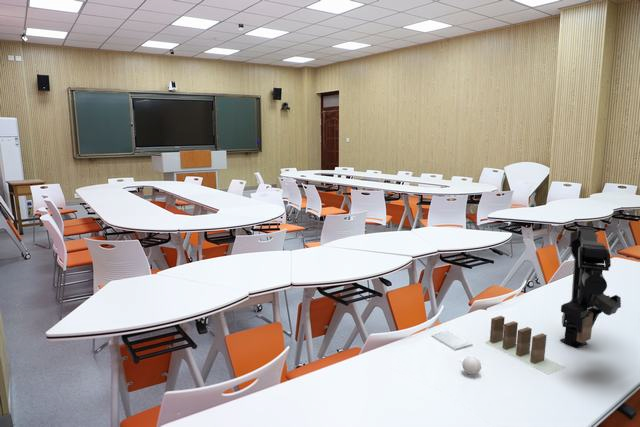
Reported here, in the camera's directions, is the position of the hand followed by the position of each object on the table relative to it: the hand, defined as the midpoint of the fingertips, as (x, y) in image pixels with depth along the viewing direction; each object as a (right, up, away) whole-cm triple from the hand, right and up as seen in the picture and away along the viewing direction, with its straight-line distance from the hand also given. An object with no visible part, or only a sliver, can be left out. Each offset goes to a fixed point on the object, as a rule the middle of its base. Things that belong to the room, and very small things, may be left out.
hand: (584, 330), depth 142 cm
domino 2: (-17, -10, +16) cm, 26 cm away
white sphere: (-37, -14, +1) cm, 39 cm away
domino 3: (-14, -11, +12) cm, 21 cm away
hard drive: (-36, -10, +21) cm, 43 cm away
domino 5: (0, -3, +1) cm, 3 cm away
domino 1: (-20, -9, +21) cm, 30 cm away
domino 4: (-12, -12, +7) cm, 18 cm away
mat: (-14, -11, +12) cm, 22 cm away
